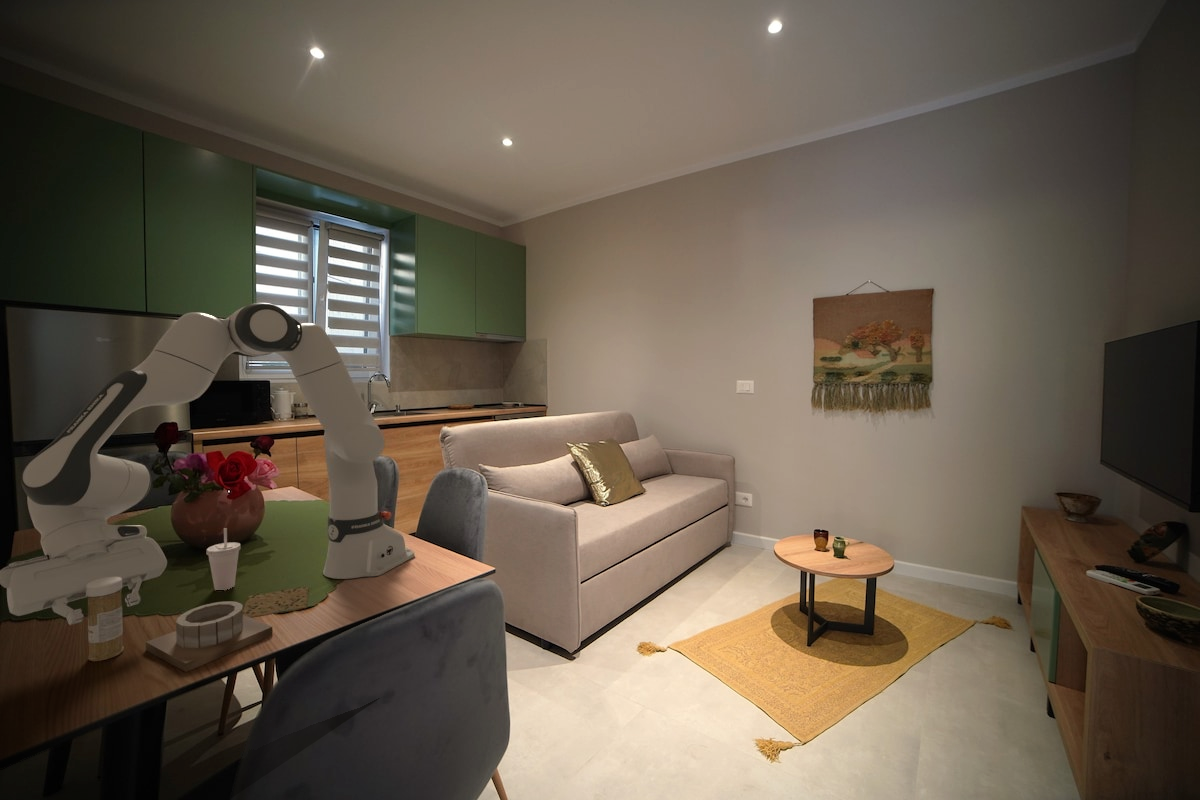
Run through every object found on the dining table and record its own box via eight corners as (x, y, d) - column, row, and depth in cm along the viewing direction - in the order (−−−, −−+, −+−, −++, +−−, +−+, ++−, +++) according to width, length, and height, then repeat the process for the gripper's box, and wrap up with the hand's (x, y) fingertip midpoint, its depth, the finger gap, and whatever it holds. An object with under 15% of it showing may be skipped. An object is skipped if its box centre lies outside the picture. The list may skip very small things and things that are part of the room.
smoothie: (223, 594, 113) (221, 533, 112) (199, 591, 114) (198, 531, 114) (248, 583, 119) (247, 525, 119) (226, 580, 121) (224, 523, 120)
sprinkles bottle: (87, 655, 88) (84, 581, 88) (122, 645, 92) (120, 573, 91) (89, 665, 86) (86, 588, 85) (126, 654, 89) (123, 580, 88)
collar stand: (232, 617, 103) (231, 591, 103) (272, 634, 97) (272, 606, 96) (146, 650, 90) (145, 620, 90) (186, 672, 84) (185, 640, 84)
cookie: (238, 622, 102) (238, 617, 102) (247, 598, 112) (247, 594, 112) (307, 610, 107) (307, 605, 107) (309, 588, 118) (309, 584, 118)
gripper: (-2, 556, 82) (23, 629, 78) (155, 523, 100) (181, 581, 96) (-10, 577, 84) (14, 649, 80) (145, 541, 102) (170, 599, 98)
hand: (106, 612), depth 88 cm, fingers open, 6 cm apart
